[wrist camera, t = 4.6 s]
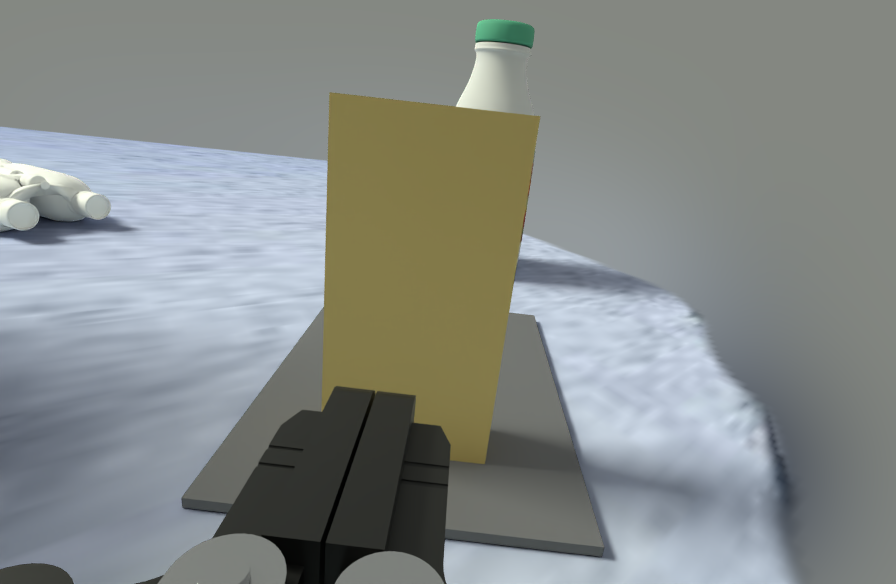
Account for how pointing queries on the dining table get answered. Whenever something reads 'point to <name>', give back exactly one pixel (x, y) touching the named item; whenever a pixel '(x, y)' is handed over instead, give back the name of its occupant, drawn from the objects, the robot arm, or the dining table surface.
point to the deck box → (423, 255)
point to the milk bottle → (501, 71)
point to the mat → (470, 484)
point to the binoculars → (44, 197)
